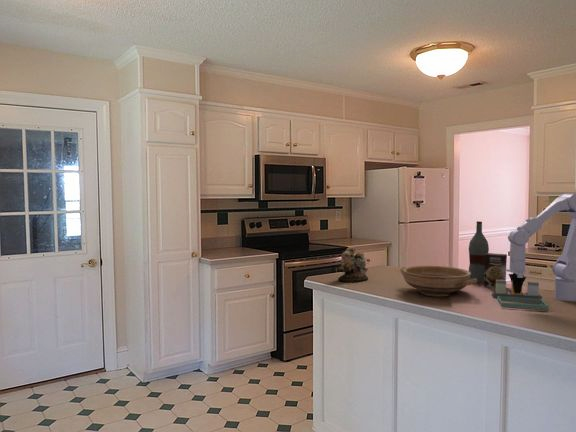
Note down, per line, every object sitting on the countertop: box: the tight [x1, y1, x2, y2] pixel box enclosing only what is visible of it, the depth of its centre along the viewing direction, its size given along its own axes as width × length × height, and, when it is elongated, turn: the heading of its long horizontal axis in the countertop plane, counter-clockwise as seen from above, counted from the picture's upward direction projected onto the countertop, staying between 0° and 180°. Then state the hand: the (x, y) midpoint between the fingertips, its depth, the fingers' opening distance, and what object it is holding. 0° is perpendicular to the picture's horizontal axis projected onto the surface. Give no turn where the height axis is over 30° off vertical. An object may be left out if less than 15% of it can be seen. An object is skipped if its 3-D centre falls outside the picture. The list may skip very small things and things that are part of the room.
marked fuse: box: [510, 282, 523, 295], centre depth 190 cm, size 4×2×7 cm, turn 73°
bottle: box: [468, 220, 490, 285], centre depth 227 cm, size 9×9×30 cm
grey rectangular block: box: [526, 280, 540, 296], centre depth 188 cm, size 4×2×7 cm, turn 73°
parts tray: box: [496, 296, 549, 313], centre depth 179 cm, size 16×11×2 cm
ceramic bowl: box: [399, 265, 477, 297], centre depth 203 cm, size 37×29×10 cm
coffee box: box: [483, 252, 508, 289], centre depth 212 cm, size 9×6×16 cm
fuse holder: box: [491, 290, 543, 300], centre depth 190 cm, size 18×7×3 cm, turn 73°
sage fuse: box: [495, 279, 507, 294], centre depth 192 cm, size 4×2×7 cm, turn 73°
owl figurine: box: [337, 246, 369, 284], centre depth 233 cm, size 18×12×17 cm, turn 126°
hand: (516, 292), depth 190 cm, fingers closed on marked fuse, 2 cm apart
